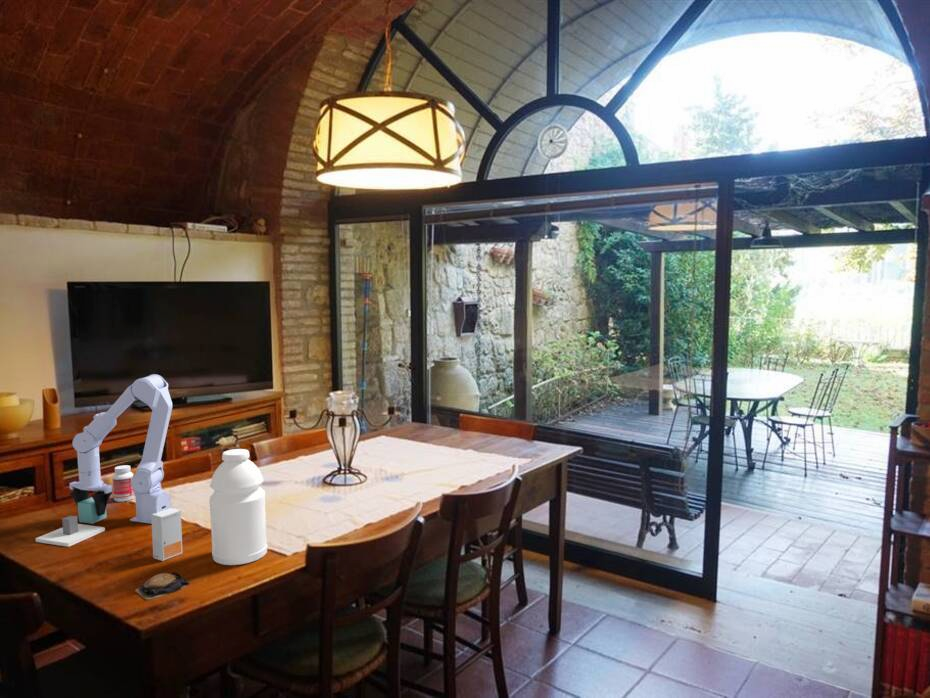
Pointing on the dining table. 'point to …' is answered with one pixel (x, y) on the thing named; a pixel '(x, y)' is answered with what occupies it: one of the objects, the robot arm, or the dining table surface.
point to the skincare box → (166, 534)
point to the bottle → (237, 510)
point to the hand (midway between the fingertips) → (92, 513)
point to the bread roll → (161, 585)
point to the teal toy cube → (89, 511)
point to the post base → (70, 538)
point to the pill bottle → (123, 484)
